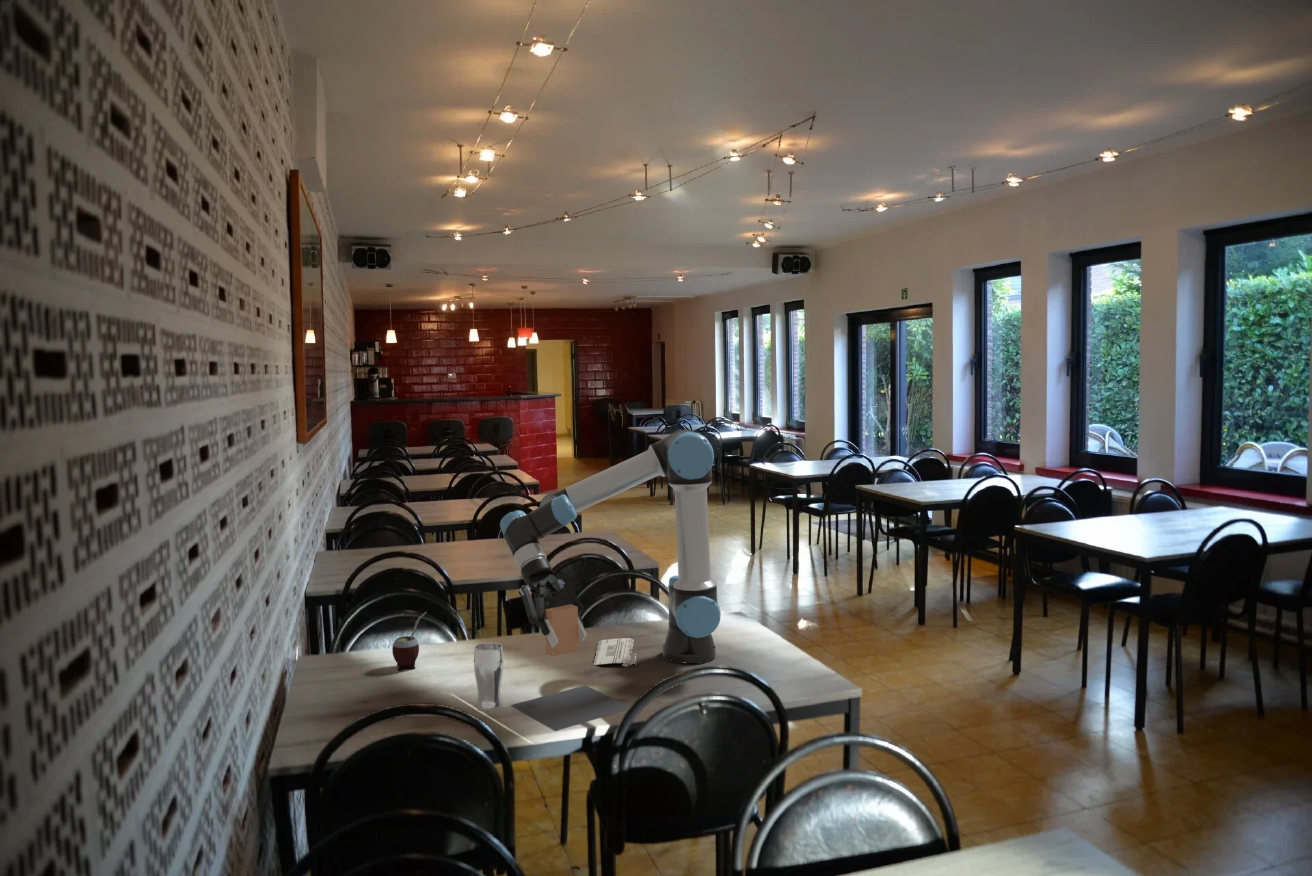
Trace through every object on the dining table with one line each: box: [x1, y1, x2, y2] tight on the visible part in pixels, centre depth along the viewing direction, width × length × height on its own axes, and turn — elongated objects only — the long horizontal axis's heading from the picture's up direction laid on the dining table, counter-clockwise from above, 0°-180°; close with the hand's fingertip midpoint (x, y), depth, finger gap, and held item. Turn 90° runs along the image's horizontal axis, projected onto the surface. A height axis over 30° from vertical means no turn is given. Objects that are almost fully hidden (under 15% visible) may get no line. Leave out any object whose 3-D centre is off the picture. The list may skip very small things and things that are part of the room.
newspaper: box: [592, 637, 637, 667], centre depth 260 cm, size 23×12×2 cm, turn 178°
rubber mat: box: [509, 684, 631, 732], centre depth 218 cm, size 22×20×1 cm
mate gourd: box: [391, 611, 427, 672], centre depth 248 cm, size 8×8×15 cm
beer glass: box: [473, 641, 504, 712], centre depth 219 cm, size 7×7×15 cm
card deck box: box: [544, 604, 579, 657], centre depth 224 cm, size 8×3×11 cm, turn 129°
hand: (569, 641), depth 221 cm, fingers closed on card deck box, 7 cm apart
